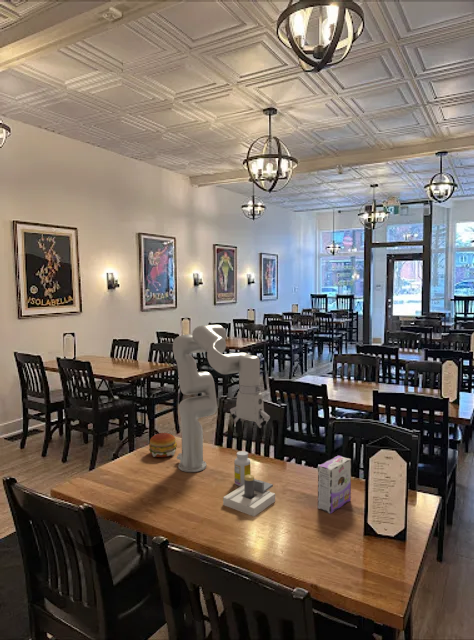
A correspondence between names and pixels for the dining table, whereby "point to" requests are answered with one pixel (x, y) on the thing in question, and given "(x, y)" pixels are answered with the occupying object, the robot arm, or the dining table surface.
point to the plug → (249, 486)
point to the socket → (248, 501)
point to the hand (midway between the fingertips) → (249, 434)
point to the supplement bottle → (241, 467)
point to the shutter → (261, 486)
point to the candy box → (334, 484)
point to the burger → (162, 445)
